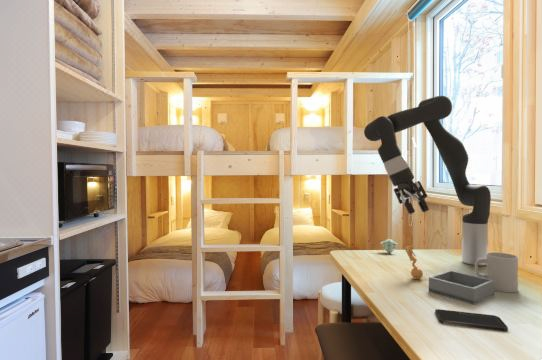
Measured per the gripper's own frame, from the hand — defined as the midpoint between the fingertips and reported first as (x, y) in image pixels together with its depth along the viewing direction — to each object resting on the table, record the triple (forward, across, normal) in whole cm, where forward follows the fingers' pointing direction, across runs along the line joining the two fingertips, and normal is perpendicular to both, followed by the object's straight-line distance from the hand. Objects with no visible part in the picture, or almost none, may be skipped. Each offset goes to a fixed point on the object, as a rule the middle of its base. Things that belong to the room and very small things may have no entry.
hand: (418, 212), depth 116 cm
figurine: (+22, +8, +9) cm, 25 cm away
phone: (+26, -26, +17) cm, 40 cm away
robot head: (+20, +45, -4) cm, 50 cm away
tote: (+27, -8, +4) cm, 28 cm away
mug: (+32, -5, -10) cm, 34 cm away
